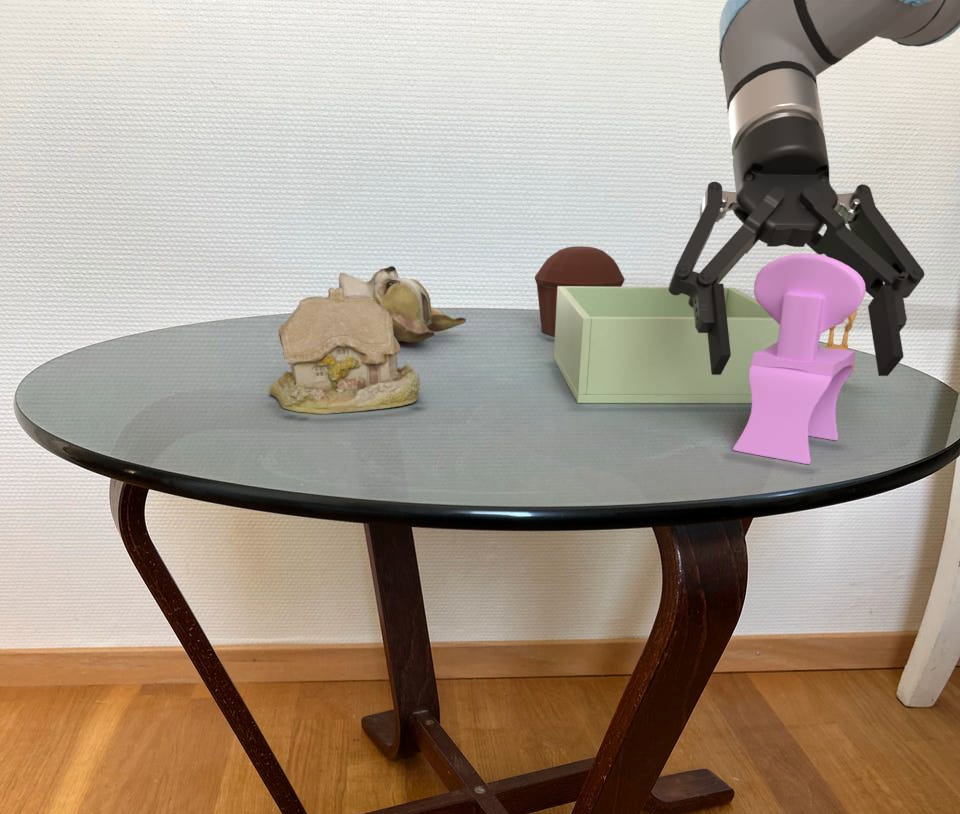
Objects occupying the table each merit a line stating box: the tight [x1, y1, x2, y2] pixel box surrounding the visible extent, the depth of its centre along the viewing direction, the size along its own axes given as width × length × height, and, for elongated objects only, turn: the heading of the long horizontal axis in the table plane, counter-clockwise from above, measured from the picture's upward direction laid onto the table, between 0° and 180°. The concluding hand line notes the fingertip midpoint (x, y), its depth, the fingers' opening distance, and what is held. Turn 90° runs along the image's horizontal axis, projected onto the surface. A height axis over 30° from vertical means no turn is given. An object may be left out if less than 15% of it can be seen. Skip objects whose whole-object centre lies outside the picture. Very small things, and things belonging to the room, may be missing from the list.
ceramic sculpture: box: [338, 265, 467, 343], centre depth 112 cm, size 11×9×15 cm
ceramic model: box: [268, 286, 421, 415], centre depth 87 cm, size 14×11×10 cm
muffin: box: [534, 245, 626, 337], centre depth 118 cm, size 12×11×10 cm
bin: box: [553, 286, 780, 404], centre depth 96 cm, size 20×20×8 cm
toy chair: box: [732, 253, 866, 465], centre depth 75 cm, size 8×9×15 cm
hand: (806, 366), depth 74 cm, fingers open, 13 cm apart
